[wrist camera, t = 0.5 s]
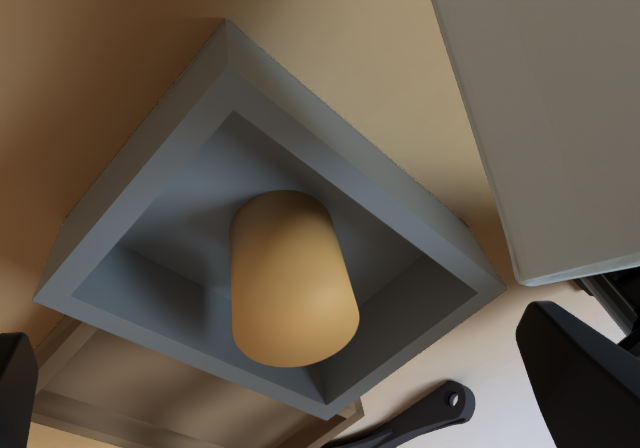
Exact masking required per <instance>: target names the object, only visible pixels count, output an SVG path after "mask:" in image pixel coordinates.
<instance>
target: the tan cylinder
mask: <svg viewBox="0 0 640 448" xmlns="http://www.w3.org/2000/svg"><path fill="white" fill-rule="evenodd" d="M229 238H230V270H231V301H232V331H233V338H234V341H235V343H236V345H237V347H238V348H239V349H240V351H242V352H243V353H244V354H245V355H246V356H247V357H249V358H250V359H252V360H254V361H256V362H259V363H261V364H265V365H269V366H274V367H300V366H305V365H309V364H313V363H316V362H319V361H322V360H324V359H326V358H328V357H330V356H332V355H334V354H335V353H337V352H338V351H340V350H341V349H342V348H343V347H344V346H346V345H347V343H348V342H349V341H350V340H351V339H352V337H353V336H354V334H355V332H356V330H357V327H358V324H359V311H358V307H357V303H356V300H355V297H354V293H353V290H352V287H351V283H350V280H349V276H348V273H347V270H346V266H345V263H344V260H343V256H342V253H341V249H340V246H339V243H338V239H337V236H336V233H335V229H334V226H333V223H332V219H331V216H330V214H329V212H328V210H327V209H326V207H325V206H324V205H323V204H322V203H321V202H320V201H319V200H317V199H316V198H314V197H313V196H311V195H308V194H306V193H303V192H300V191H295V190H275V191H270V192H266V193H263V194H261V195H258V196H256V197H254V198H252V199H251V200H249V201H248V202H246V203H245V204H244V205H243V206H242V207H241V208H240V209H239V210H238V211H237V213H236V214H235V216H234V218H233V220H232V222H231V226H230V232H229Z"/></svg>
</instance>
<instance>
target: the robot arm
mask: <svg viewBox="0 0 640 448" xmlns="http://www.w3.org/2000/svg"><path fill="white" fill-rule="evenodd" d="M572 280H573V281H574V282H576V283H577V284H578V285H579V286H580V287H581V288H582V289H583V290H584V291H585V292H586V293H587V294H588V295H590V296H594V297H595V298H596V299H597V300H598V302H599V303H600V304H601V305H602V306H603V308H604V309H605V310H606V311H607V313H608V314H609V315H610V316H611V317H612V319H613V320H614V321H615V322H616V324H617V325H618V326H619V327H620V329H621V330H622V331H623V332H624V333H625V335H626V337H625V338H624V339H622V340H621V341H620V342H619V343H618V344H615V343H614V342H612V341H611V340H609V339H608V338H606V337H605V336H603V335H602V334H600V333H599V332H597V331H596V330H595V329H593V328H592V327H590V326H589V325H587V324H586V323H584V322H583V321H581V320H580V319H578V318H577V317H575V316H574V315H572V314H571V313H569V312H568V311H566V310H565V309H563V308H562V307H560V306H559V305H557V304H556V303H554V302H552V301H533V302H531V303H530V304H528V306H527V307H526V310H525V312H524V314H523V316H522V318H521V320H520V322H519V324H518V326H517V329H516V341H517V345H518V348H519V350H520V353H521V356H522V359H523V362H524V365H525V368H526V371H527V374H528V377H529V380H530V383H531V386H532V389H533V392H534V394H535V397H536V400H537V403H538V406H539V408H540V411H541V413H542V416H543V418H544V420H545V423H546V425H547V427H548V429H549V432H550V434H551V436H552V438H553V440H554V443H555V445H556V447H557V448H640V266H638V267H633V268H628V269H623V270H617V271H612V272H607V273H602V274H596V275H591V276H586V277H580V278H575V279H572ZM38 373H39V370H38V363H37V360H36V357H35V355H34V352H33V349H32V347H31V344H30V341H29V338H28V337H27V335H26V334H25V333H22V332H16V333H1V334H0V448H26V447H27V441H28V435H29V429H30V423H31V417H32V411H33V405H34V399H35V394H36V388H37V382H38Z"/></svg>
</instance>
